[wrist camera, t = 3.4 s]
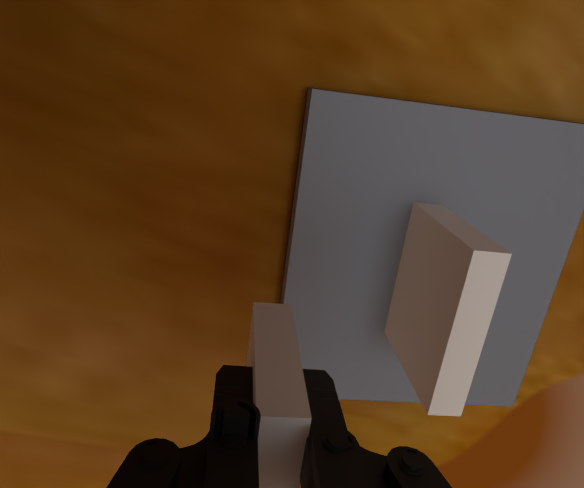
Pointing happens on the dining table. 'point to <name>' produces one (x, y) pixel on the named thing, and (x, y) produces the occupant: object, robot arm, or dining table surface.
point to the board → (395, 218)
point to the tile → (443, 305)
